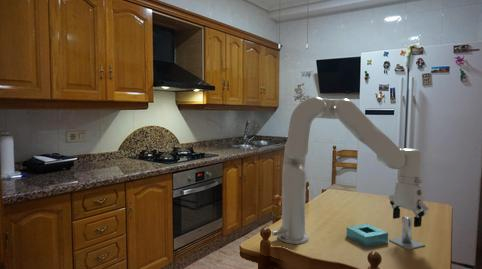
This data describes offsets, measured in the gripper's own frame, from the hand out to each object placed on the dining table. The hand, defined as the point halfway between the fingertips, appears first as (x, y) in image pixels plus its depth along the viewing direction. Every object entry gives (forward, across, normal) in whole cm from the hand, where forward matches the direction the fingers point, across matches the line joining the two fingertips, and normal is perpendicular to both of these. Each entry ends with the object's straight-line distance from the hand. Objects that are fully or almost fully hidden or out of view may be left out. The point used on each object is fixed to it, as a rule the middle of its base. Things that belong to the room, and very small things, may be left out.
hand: (406, 222), depth 123 cm
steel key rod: (+8, 0, 0) cm, 8 cm away
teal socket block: (+9, +9, +12) cm, 17 cm away
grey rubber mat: (+9, 0, 0) cm, 9 cm away
